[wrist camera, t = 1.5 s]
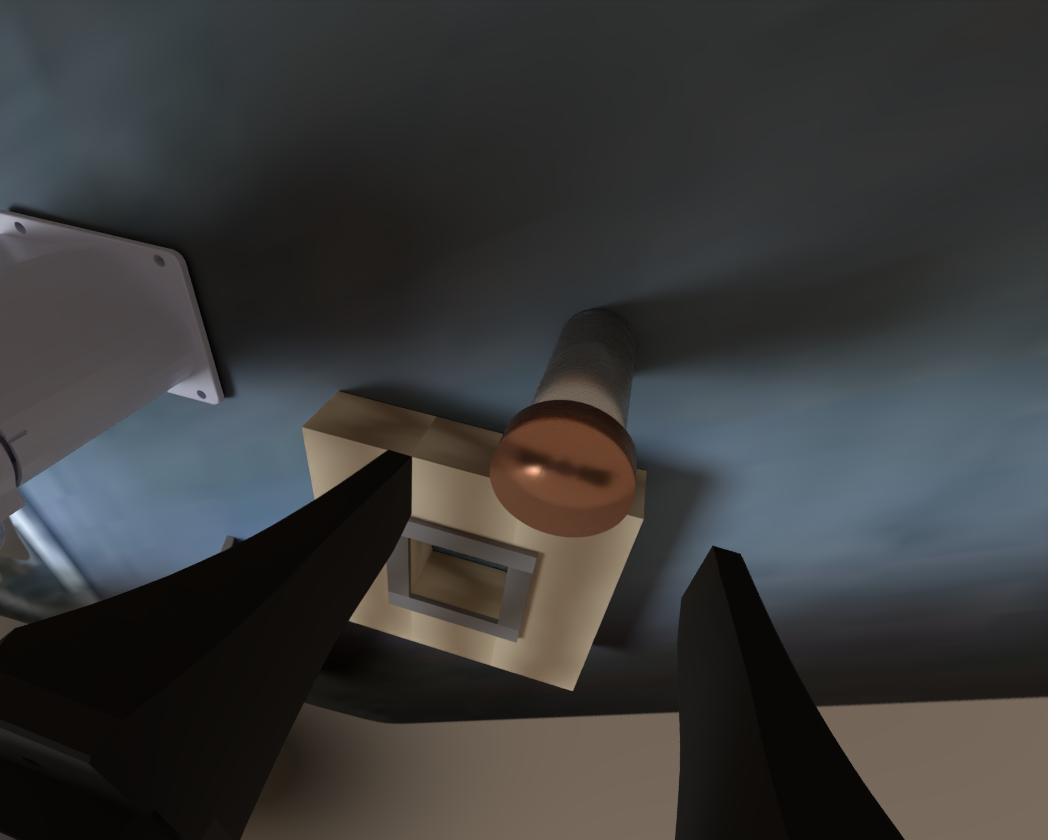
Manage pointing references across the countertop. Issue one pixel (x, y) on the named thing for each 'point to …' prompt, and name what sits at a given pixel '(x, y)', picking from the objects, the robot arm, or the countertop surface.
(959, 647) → the countertop surface
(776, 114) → the countertop surface
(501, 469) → the pin
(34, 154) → the countertop surface
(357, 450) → the block
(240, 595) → the robot arm
